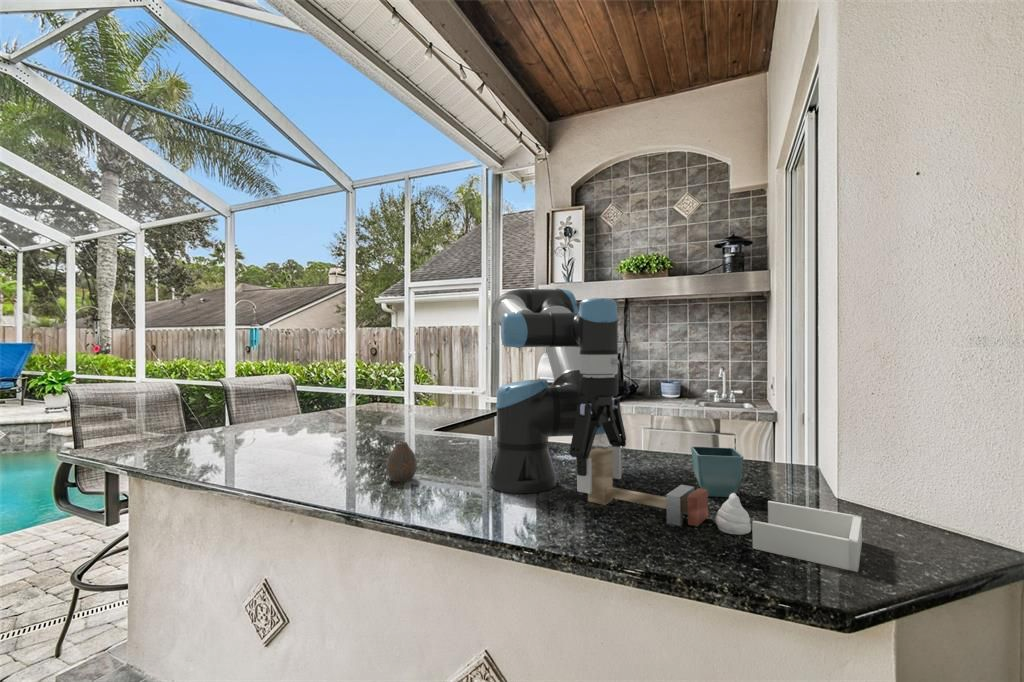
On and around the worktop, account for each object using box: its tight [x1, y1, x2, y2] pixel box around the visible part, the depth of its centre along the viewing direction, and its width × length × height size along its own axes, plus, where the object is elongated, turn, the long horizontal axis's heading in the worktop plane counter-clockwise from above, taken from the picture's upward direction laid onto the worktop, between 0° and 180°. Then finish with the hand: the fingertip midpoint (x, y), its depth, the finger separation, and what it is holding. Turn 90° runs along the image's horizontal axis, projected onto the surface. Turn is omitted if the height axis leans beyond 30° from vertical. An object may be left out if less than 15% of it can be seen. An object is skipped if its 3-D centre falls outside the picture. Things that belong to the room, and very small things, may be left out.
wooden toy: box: [587, 447, 709, 527], centre depth 91 cm, size 22×6×10 cm, turn 52°
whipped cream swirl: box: [714, 492, 752, 536], centre depth 81 cm, size 6×6×5 cm
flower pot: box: [690, 446, 744, 498], centre depth 101 cm, size 9×9×9 cm
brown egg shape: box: [386, 441, 418, 483], centre depth 114 cm, size 7×7×9 cm
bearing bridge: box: [665, 484, 695, 527], centre depth 86 cm, size 2×8×5 cm, turn 142°
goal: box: [751, 500, 863, 573], centre depth 74 cm, size 13×13×4 cm
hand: (600, 484), depth 96 cm, fingers open, 12 cm apart
